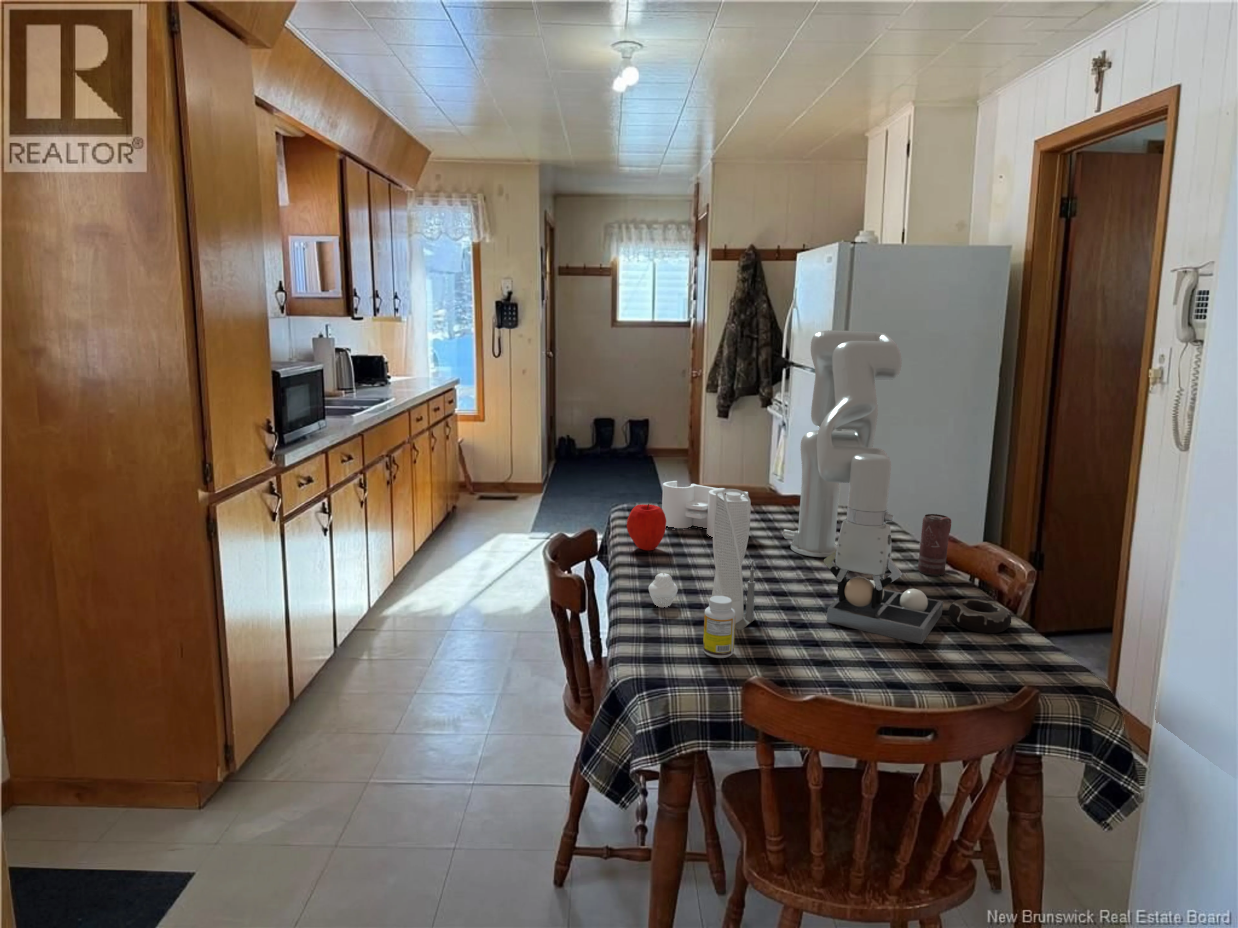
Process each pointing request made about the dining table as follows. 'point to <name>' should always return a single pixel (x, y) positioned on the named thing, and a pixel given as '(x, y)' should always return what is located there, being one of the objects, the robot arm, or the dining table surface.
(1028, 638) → the dining table surface
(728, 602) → the supplement bottle
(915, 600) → the white ball
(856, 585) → the brown egg
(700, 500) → the bracket
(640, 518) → the apple
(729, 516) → the skyscraper
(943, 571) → the can
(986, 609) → the donut
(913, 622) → the grey shallow tray
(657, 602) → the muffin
